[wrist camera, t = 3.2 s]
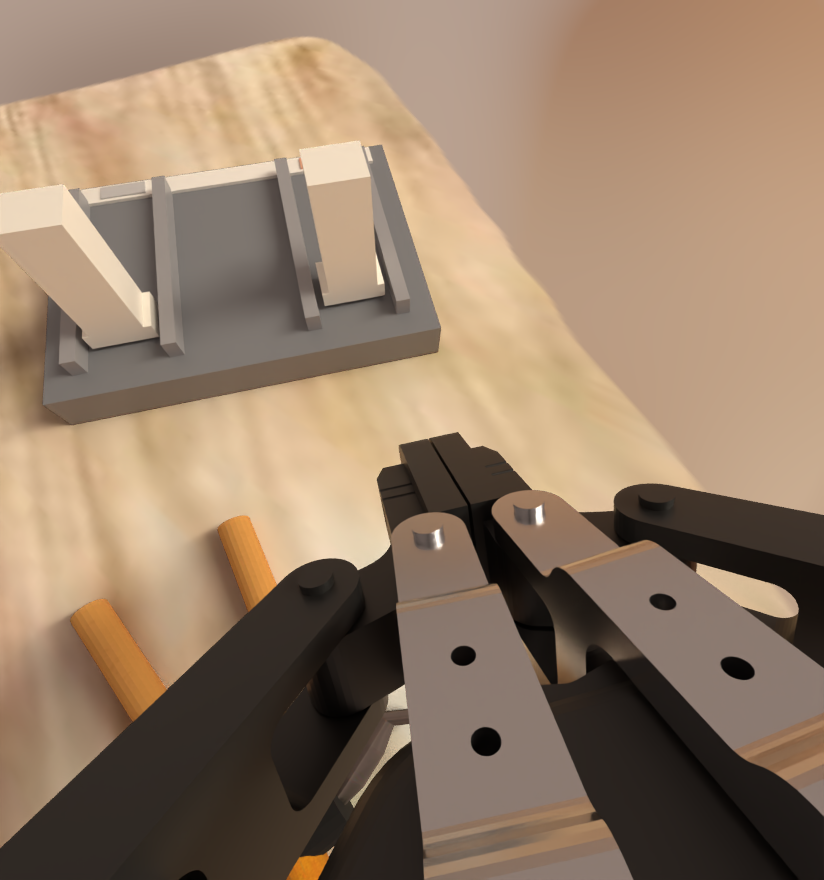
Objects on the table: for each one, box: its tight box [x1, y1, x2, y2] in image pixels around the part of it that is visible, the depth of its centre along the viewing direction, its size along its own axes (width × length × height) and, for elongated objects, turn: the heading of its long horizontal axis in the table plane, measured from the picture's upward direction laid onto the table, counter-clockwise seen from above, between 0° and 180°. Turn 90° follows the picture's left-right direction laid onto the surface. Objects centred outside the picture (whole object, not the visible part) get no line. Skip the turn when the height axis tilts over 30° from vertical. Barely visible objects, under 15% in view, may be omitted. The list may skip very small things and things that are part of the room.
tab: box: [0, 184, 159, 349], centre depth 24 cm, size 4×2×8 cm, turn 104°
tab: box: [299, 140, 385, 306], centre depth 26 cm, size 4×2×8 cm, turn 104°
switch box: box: [43, 145, 441, 425], centre depth 31 cm, size 22×16×4 cm
